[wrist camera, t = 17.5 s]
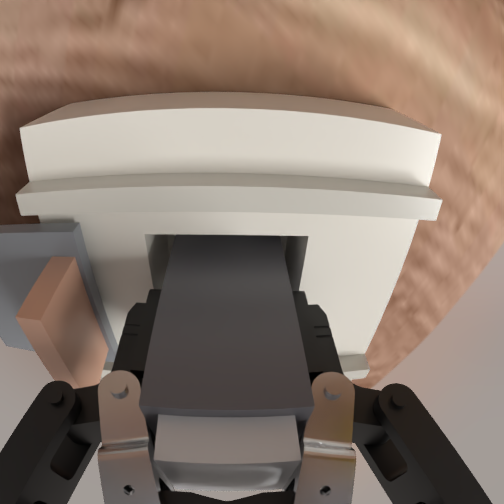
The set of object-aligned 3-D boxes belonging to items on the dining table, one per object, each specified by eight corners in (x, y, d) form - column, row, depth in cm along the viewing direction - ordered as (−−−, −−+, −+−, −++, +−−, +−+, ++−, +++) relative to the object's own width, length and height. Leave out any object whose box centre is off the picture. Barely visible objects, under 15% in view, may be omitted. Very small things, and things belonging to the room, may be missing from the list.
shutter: (-44, 227, 9) (-90, 279, 6) (79, 222, 10) (32, 294, 7) (9, 337, 13) (-14, 390, 10) (120, 352, 14) (105, 418, 11)
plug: (182, 211, 14) (131, 451, 5) (274, 212, 14) (322, 452, 6) (187, 282, 16) (165, 490, 8) (267, 283, 16) (293, 490, 8)
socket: (69, 103, 11) (2, 137, 7) (392, 109, 12) (458, 143, 8) (119, 330, 19) (101, 395, 15) (335, 331, 20) (353, 396, 16)
